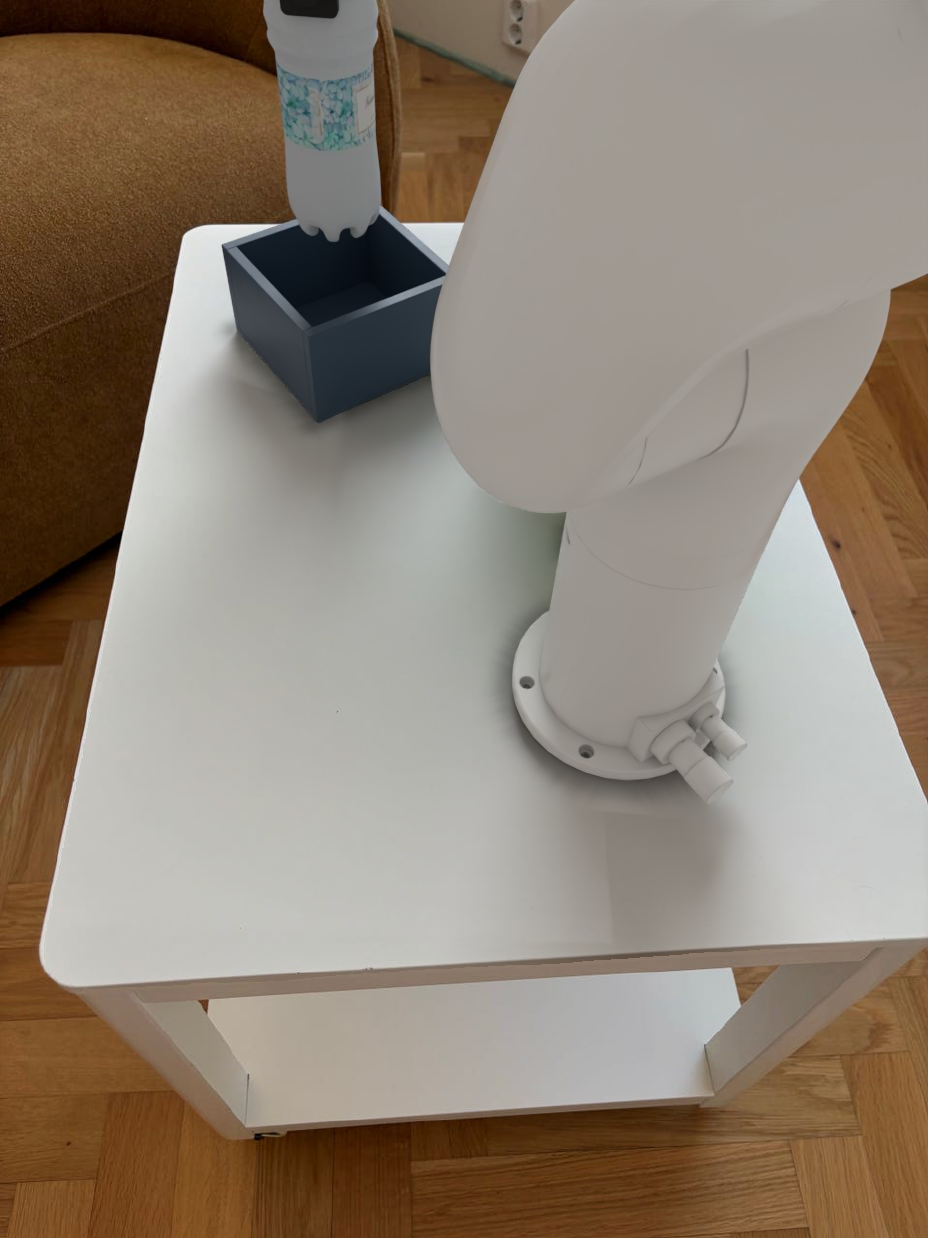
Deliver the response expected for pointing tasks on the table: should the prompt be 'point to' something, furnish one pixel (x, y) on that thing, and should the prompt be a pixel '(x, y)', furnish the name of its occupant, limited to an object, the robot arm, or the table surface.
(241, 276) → the bin
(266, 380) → the table surface
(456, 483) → the table surface
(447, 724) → the table surface
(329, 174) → the bottle
